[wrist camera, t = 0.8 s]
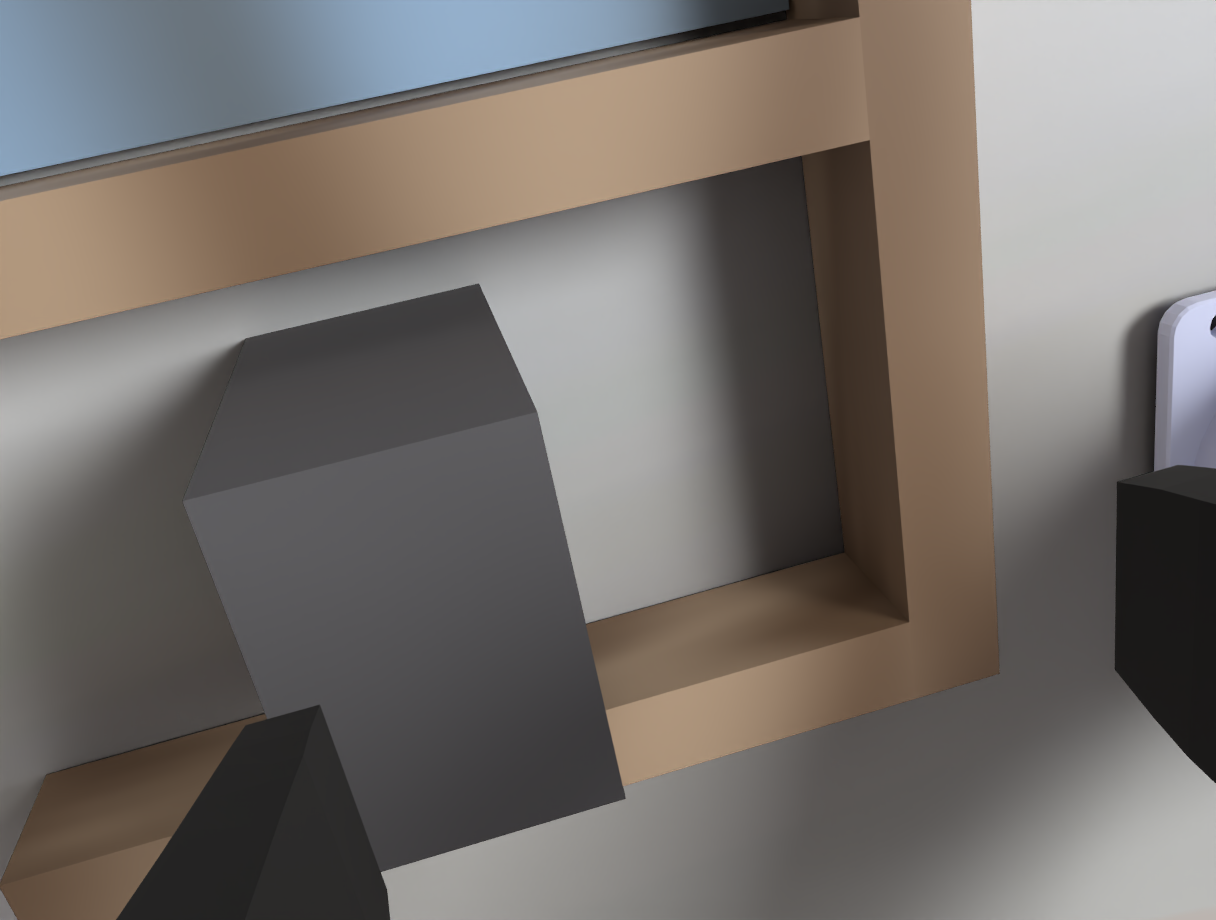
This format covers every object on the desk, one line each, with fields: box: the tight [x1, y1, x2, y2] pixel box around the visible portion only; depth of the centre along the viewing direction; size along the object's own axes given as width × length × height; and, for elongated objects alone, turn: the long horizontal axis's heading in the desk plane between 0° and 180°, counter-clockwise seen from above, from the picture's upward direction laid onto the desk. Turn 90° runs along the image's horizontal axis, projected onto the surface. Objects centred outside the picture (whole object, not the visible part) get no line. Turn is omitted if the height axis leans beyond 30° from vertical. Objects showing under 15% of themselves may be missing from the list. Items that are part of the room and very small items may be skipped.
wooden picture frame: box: [0, 0, 1000, 920], centre depth 14 cm, size 17×20×2 cm
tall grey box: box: [182, 284, 626, 872], centre depth 14 cm, size 4×5×6 cm
